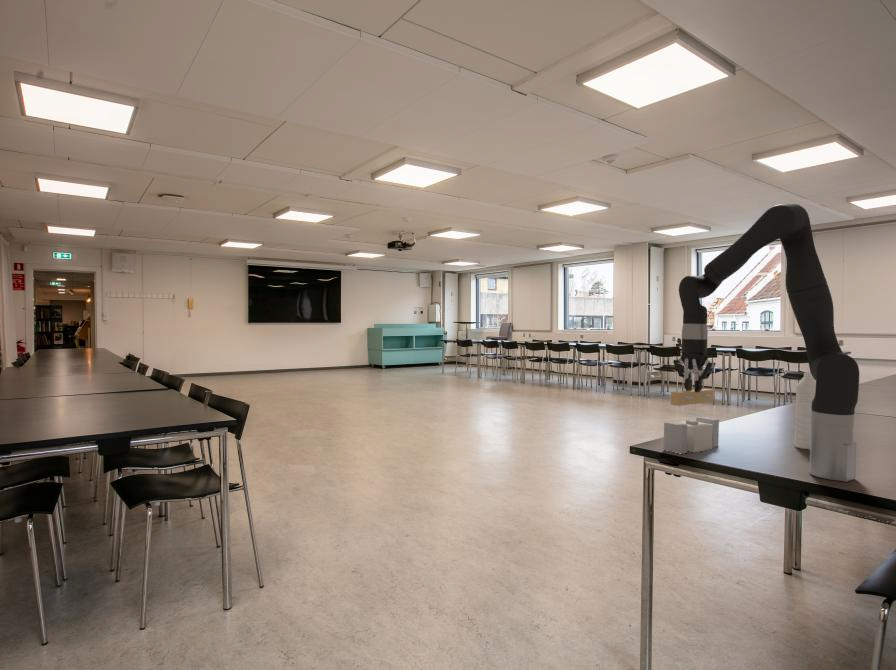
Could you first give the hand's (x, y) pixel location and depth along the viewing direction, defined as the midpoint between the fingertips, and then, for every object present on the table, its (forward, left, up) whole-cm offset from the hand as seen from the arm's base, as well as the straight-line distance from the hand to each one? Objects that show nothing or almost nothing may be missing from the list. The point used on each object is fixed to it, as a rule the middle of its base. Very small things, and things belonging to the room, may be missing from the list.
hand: (692, 391), depth 165 cm
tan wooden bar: (0, 0, -4) cm, 4 cm away
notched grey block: (0, 0, -19) cm, 19 cm away
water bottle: (-19, -36, -19) cm, 45 cm away
